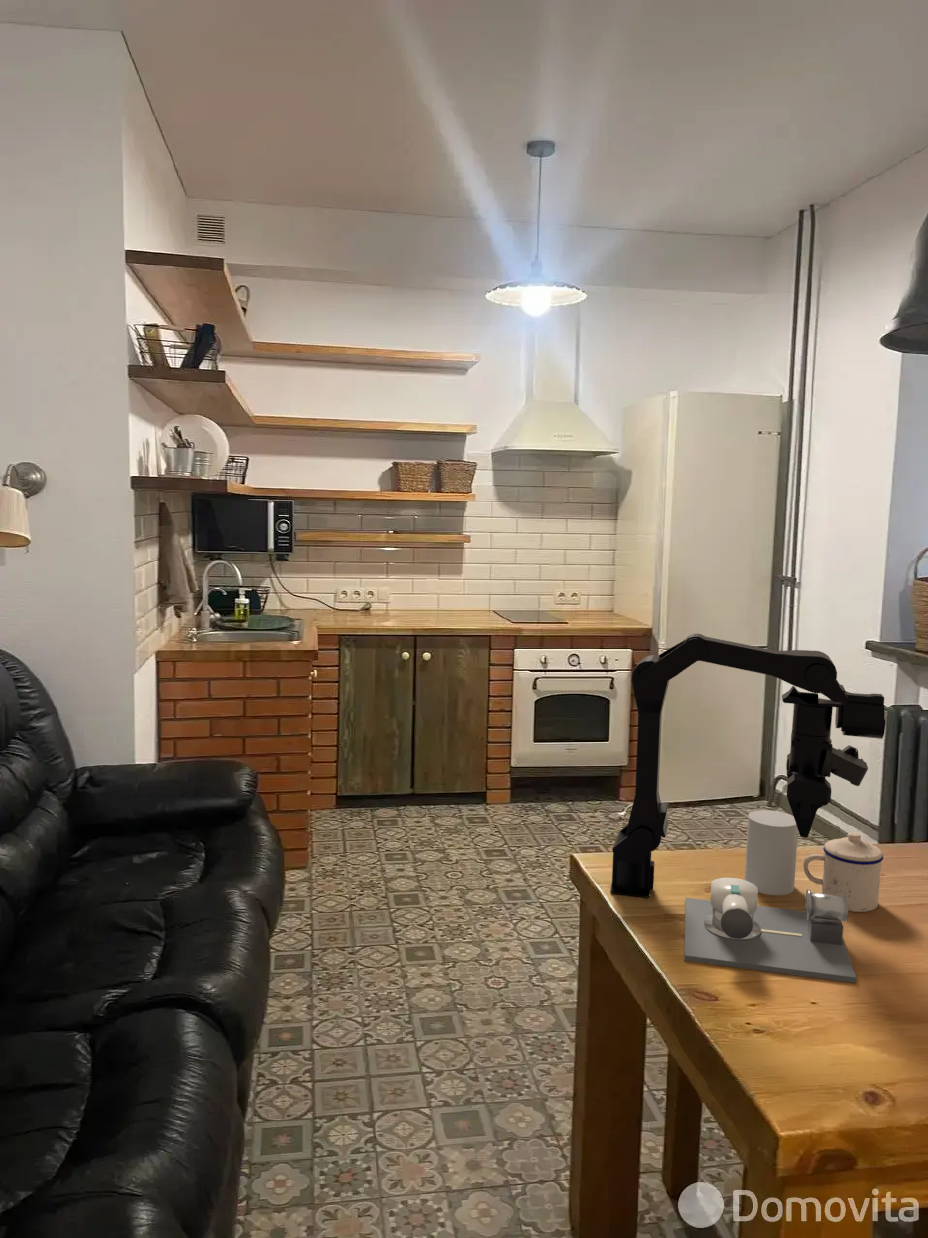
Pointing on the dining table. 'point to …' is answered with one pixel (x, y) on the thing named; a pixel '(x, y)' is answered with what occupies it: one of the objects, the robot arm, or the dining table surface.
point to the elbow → (734, 905)
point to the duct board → (766, 945)
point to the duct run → (825, 917)
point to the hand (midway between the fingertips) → (803, 827)
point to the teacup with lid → (850, 871)
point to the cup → (771, 852)
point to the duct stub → (714, 927)
